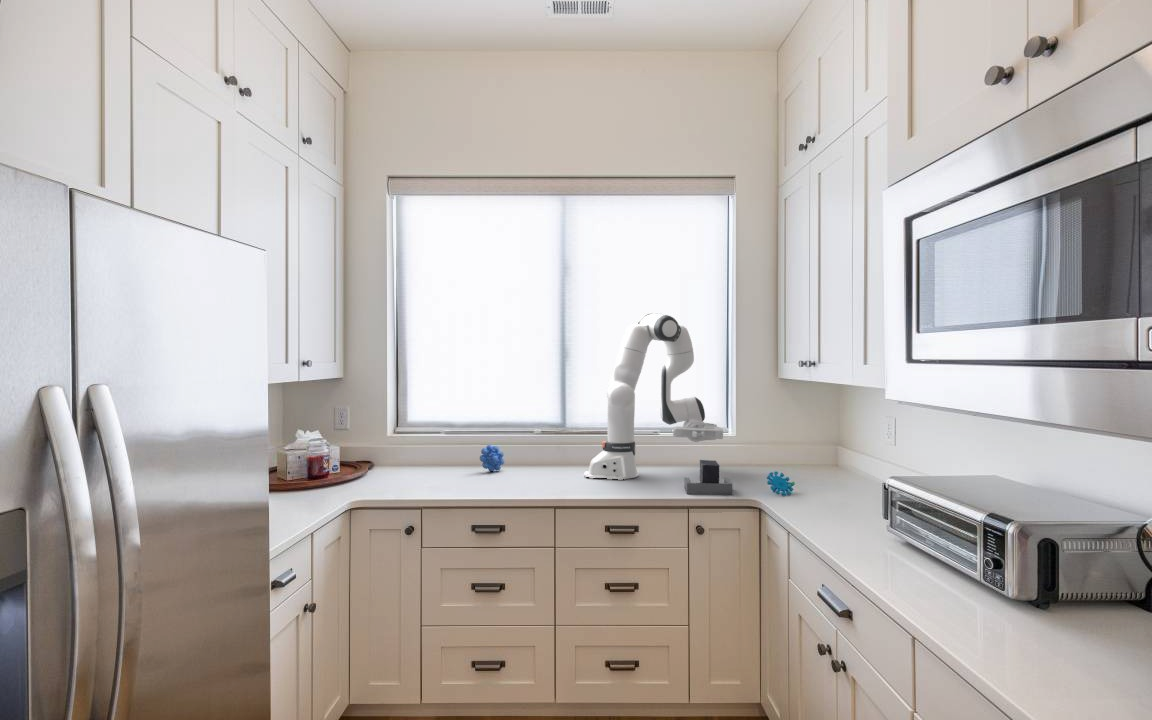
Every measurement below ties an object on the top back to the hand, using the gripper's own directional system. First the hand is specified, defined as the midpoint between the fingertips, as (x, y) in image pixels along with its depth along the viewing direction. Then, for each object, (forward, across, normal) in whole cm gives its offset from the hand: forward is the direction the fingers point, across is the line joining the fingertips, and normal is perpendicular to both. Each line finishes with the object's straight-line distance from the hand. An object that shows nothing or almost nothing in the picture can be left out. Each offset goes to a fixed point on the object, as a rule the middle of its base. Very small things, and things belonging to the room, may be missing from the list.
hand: (699, 435), depth 237 cm
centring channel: (+20, +1, +18) cm, 27 cm away
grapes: (-12, -86, +22) cm, 89 cm away
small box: (+18, +2, +18) cm, 26 cm away
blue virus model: (+22, +27, +17) cm, 38 cm away
